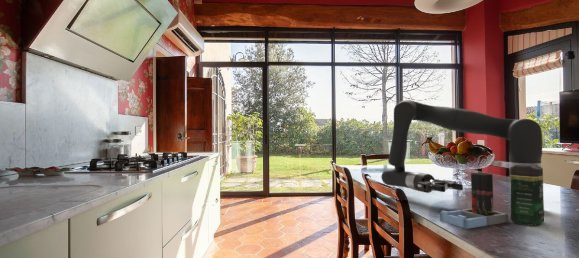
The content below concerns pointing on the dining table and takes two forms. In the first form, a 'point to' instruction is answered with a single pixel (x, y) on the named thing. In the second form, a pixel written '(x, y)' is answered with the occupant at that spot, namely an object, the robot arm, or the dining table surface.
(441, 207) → the dining table surface
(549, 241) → the dining table surface
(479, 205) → the deodorant
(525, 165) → the coffee jar
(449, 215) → the pale blue open frame
